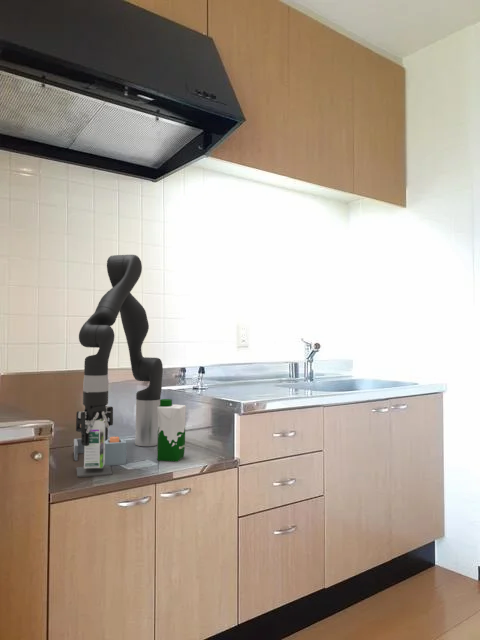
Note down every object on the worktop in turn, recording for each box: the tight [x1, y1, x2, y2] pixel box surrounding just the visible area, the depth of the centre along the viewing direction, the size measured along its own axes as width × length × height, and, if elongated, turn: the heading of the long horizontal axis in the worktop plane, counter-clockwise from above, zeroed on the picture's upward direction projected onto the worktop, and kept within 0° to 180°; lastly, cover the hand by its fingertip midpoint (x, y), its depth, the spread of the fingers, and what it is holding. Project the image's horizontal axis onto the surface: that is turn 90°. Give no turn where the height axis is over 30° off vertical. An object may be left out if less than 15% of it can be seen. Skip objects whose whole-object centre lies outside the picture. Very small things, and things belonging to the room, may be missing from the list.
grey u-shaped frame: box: [73, 436, 111, 462], centre depth 181 cm, size 12×12×5 cm
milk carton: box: [156, 398, 187, 463], centre depth 178 cm, size 9×9×20 cm
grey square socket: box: [104, 438, 128, 466], centre depth 172 cm, size 7×7×7 cm
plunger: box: [109, 436, 120, 443], centre depth 172 cm, size 3×3×6 cm
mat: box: [76, 465, 113, 478], centre depth 160 cm, size 10×10×1 cm
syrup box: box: [83, 419, 105, 469], centre depth 160 cm, size 6×6×14 cm
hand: (94, 442), depth 160 cm, fingers closed on syrup box, 7 cm apart
